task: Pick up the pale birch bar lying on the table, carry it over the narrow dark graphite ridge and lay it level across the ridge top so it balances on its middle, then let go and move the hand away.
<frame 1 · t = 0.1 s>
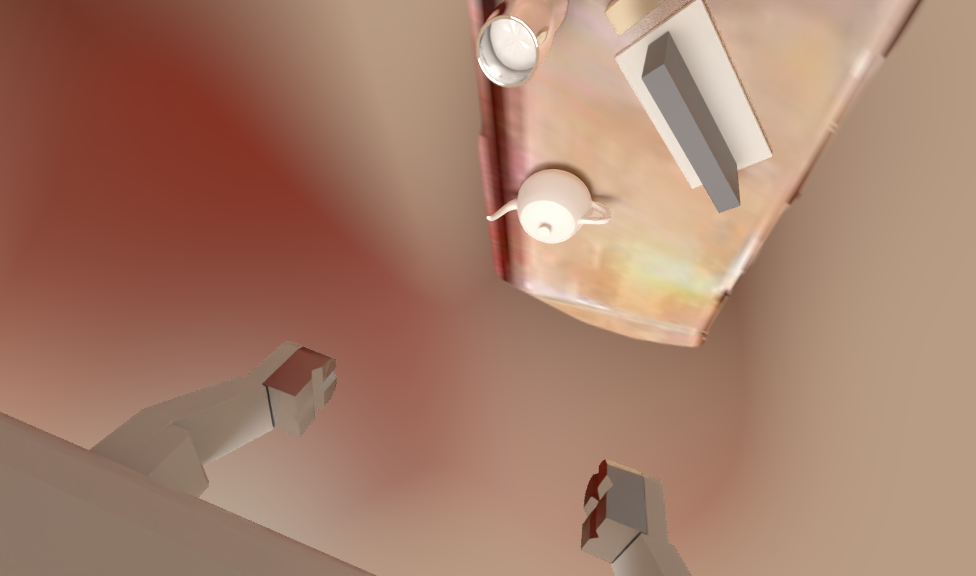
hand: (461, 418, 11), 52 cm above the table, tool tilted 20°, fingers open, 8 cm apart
beer glass: (543, 3, 48), on the table
teapot: (555, 192, 68), on the table
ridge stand: (695, 104, 51), on the table
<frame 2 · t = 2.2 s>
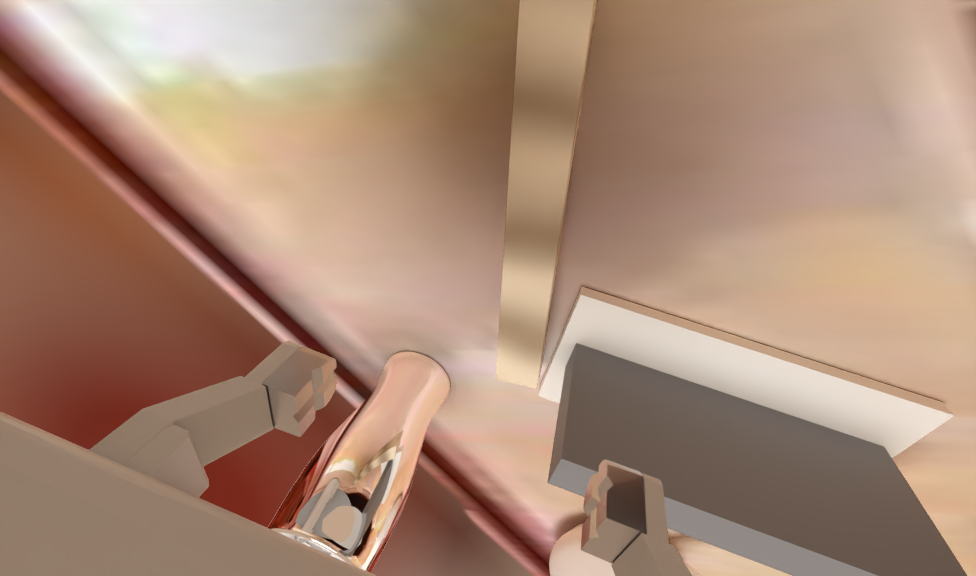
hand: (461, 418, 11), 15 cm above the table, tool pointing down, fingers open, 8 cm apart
beer glass: (419, 375, 35), on the table
birch bar: (540, 210, 24), on the table
teapot: (609, 543, 41), on the table
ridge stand: (711, 393, 27), on the table
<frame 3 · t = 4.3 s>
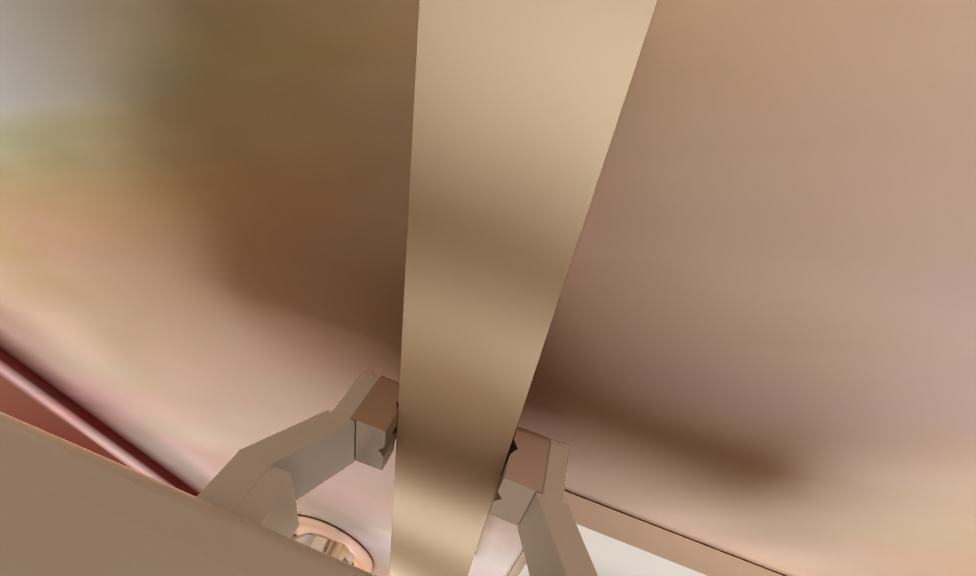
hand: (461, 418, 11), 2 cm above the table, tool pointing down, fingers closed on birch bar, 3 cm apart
beer glass: (329, 541, 24), on the table
birch bar: (480, 373, 13), on the table, touching gripper
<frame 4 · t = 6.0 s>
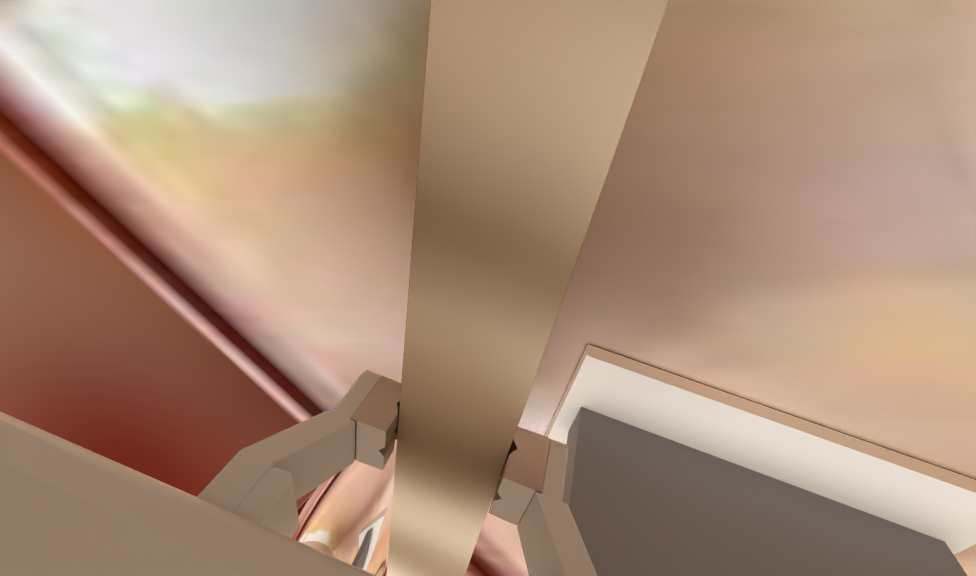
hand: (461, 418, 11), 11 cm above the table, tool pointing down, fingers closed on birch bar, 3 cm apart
beer glass: (406, 427, 32), on the table
birch bar: (480, 373, 13), point 9 cm above the table, touching gripper
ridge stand: (736, 466, 24), on the table
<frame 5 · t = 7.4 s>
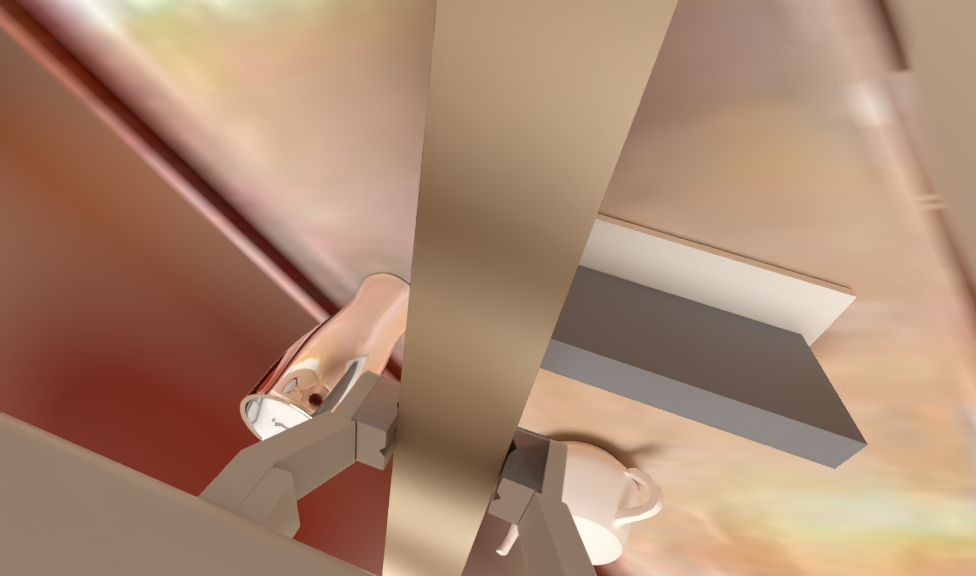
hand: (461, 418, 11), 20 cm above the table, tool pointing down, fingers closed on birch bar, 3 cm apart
beer glass: (392, 298, 38), on the table
birch bar: (479, 372, 13), point 18 cm above the table, touching gripper
teapot: (575, 466, 44), on the table
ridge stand: (651, 295, 30), on the table
when the fingers open (13 cm above the table, at t = 10.0 s): birch bar stays where it is, resting on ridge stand.
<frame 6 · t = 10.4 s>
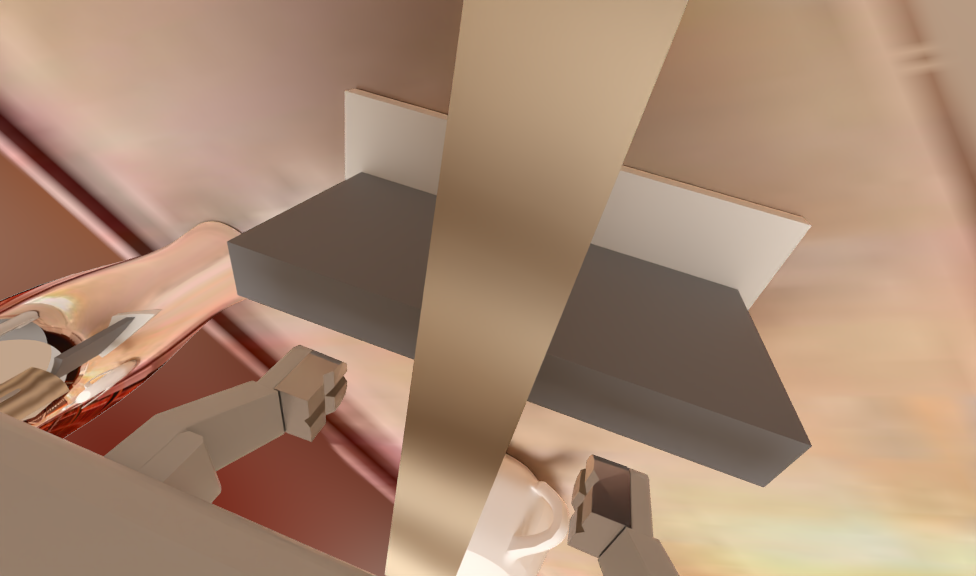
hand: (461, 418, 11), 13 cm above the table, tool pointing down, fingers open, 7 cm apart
beer glass: (233, 258, 29), on the table
birch bar: (485, 360, 14), point 10 cm above the table, touching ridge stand
teapot: (485, 478, 35), on the table
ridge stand: (536, 239, 22), on the table
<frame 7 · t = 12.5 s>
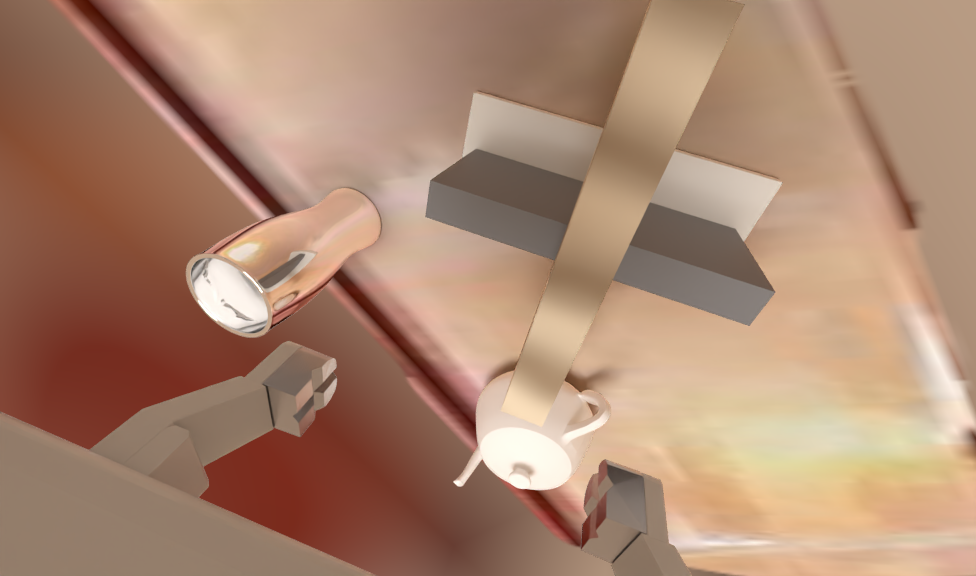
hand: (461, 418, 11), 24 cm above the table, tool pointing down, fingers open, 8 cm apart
beer glass: (354, 217, 39), on the table
birch bar: (585, 251, 23), point 10 cm above the table, touching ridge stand
teapot: (535, 400, 45), on the table
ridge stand: (595, 197, 31), on the table
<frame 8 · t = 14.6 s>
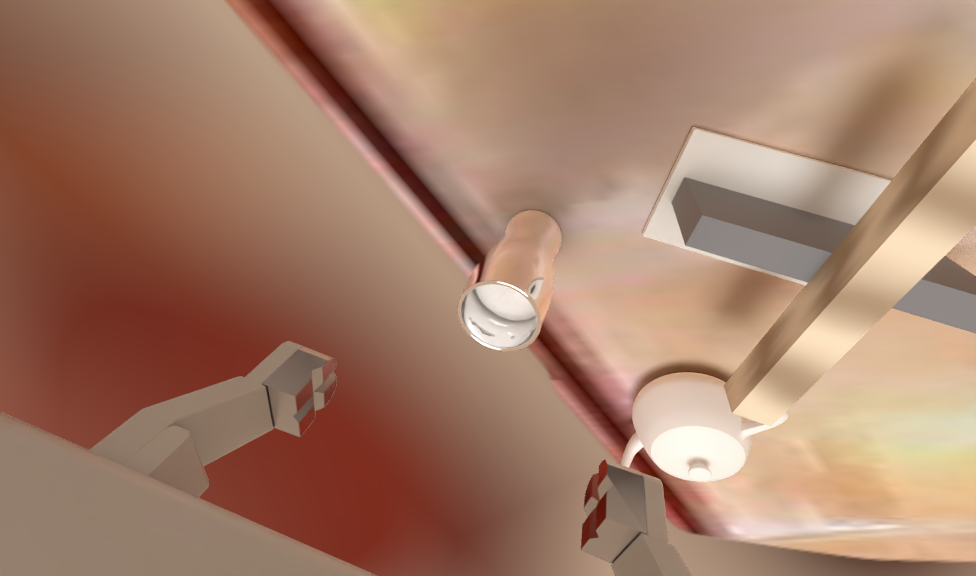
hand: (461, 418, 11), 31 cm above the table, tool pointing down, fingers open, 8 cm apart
beer glass: (533, 236, 42), on the table
birch bar: (843, 275, 26), point 10 cm above the table, touching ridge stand
teapot: (681, 399, 48), on the table
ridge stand: (790, 219, 35), on the table
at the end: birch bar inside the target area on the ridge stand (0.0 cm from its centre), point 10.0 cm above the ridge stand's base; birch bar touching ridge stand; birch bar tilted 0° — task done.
